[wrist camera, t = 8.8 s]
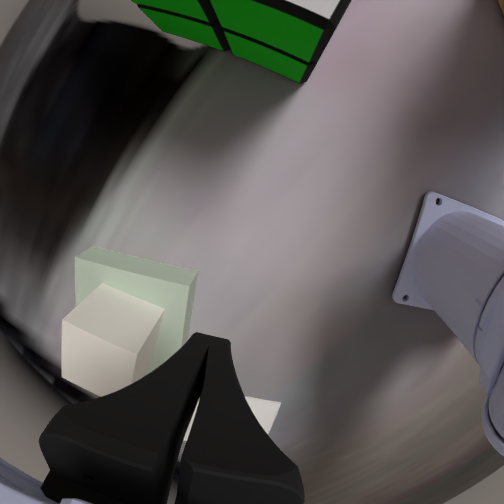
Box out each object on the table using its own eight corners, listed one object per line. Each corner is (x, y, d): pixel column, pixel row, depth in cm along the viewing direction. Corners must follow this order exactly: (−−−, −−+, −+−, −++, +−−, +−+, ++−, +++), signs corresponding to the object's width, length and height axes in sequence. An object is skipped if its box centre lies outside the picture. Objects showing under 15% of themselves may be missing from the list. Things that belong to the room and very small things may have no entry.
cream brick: (165, 308, 20) (137, 354, 15) (151, 360, 21) (127, 408, 16) (102, 282, 19) (62, 319, 15) (95, 336, 21) (61, 377, 16)
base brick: (199, 268, 22) (189, 286, 19) (186, 360, 24) (177, 384, 22) (95, 244, 22) (75, 257, 19) (95, 334, 24) (79, 353, 21)
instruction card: (281, 402, 25) (281, 403, 25) (259, 454, 27) (259, 455, 27) (161, 376, 25) (161, 377, 24) (158, 433, 27) (158, 434, 27)
